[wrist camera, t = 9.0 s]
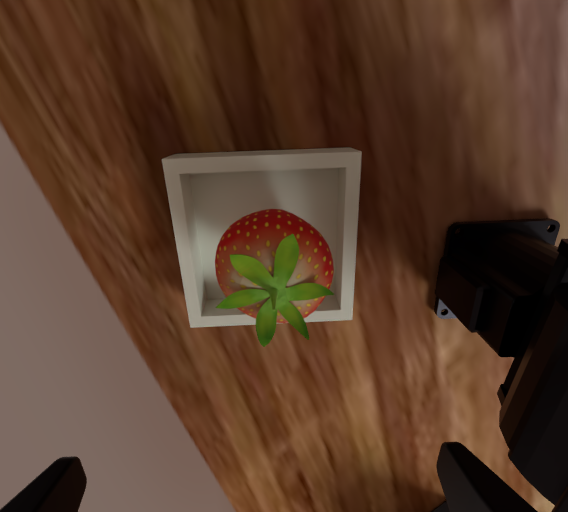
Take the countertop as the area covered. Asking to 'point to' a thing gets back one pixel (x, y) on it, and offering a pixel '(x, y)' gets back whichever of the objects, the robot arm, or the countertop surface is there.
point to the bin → (255, 197)
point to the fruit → (273, 270)
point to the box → (442, 508)
